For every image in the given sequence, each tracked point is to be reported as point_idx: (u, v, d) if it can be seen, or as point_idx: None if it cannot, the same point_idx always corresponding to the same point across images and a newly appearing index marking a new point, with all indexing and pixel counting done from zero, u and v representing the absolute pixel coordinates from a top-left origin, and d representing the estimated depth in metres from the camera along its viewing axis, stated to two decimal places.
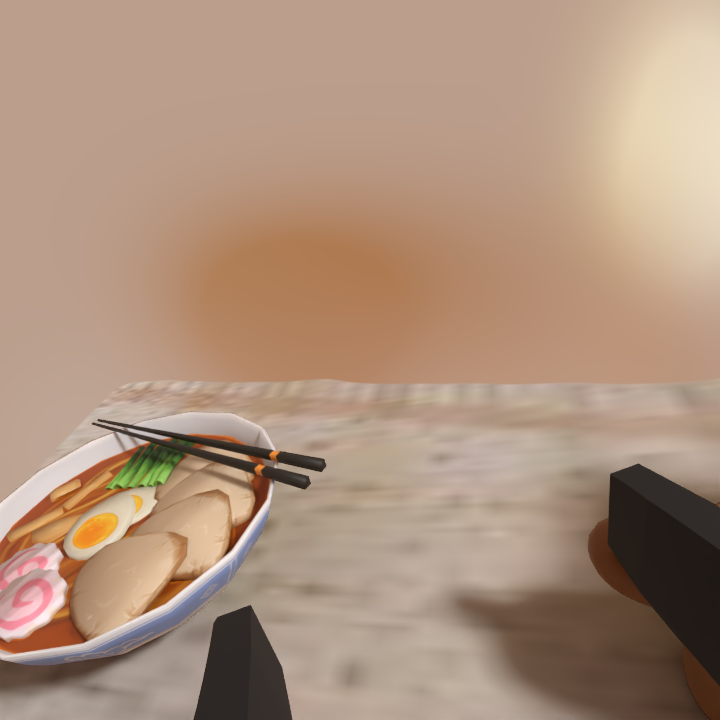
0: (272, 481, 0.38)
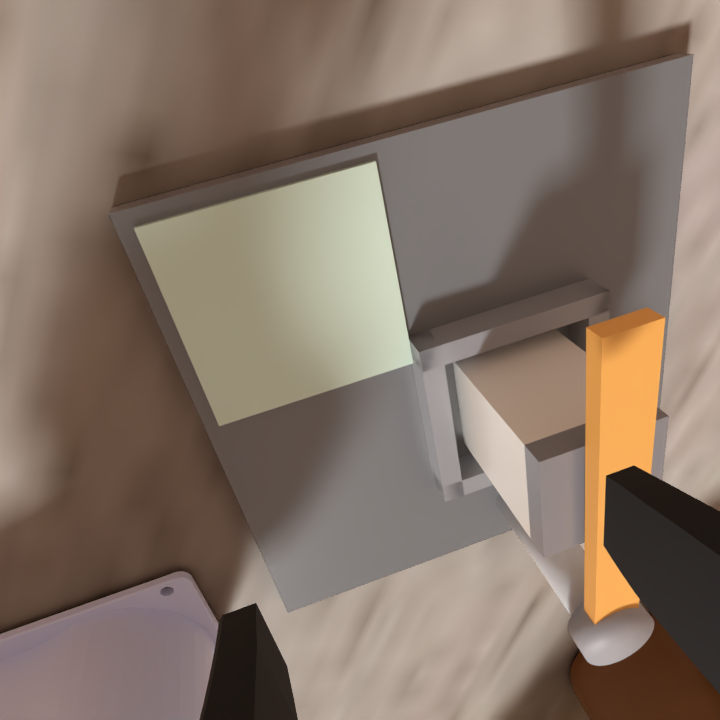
0: None
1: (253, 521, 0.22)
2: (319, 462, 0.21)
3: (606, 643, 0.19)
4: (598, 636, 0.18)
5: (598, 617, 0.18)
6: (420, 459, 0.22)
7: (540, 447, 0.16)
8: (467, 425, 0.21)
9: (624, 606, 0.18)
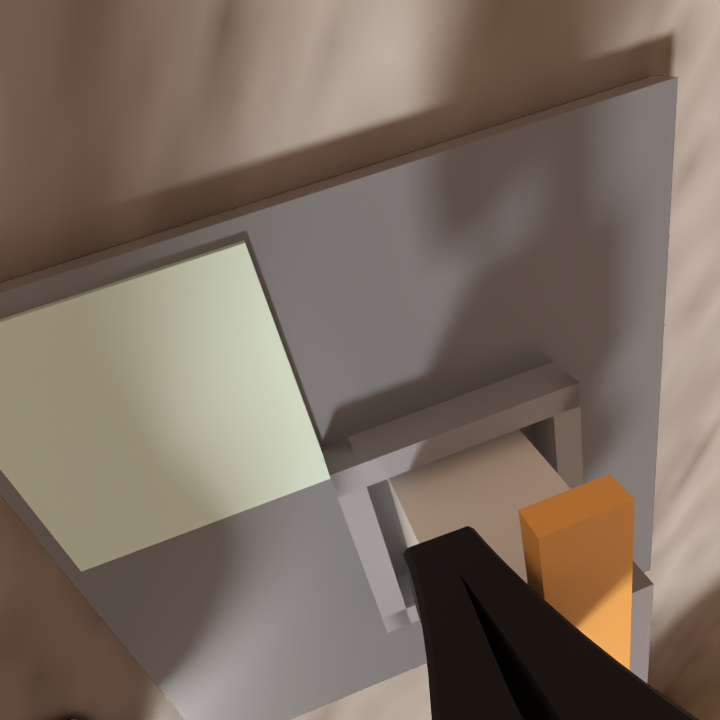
0: None
1: (149, 665, 0.17)
2: (225, 595, 0.17)
3: None
4: None
5: None
6: (356, 579, 0.18)
7: None
8: (408, 544, 0.17)
9: None
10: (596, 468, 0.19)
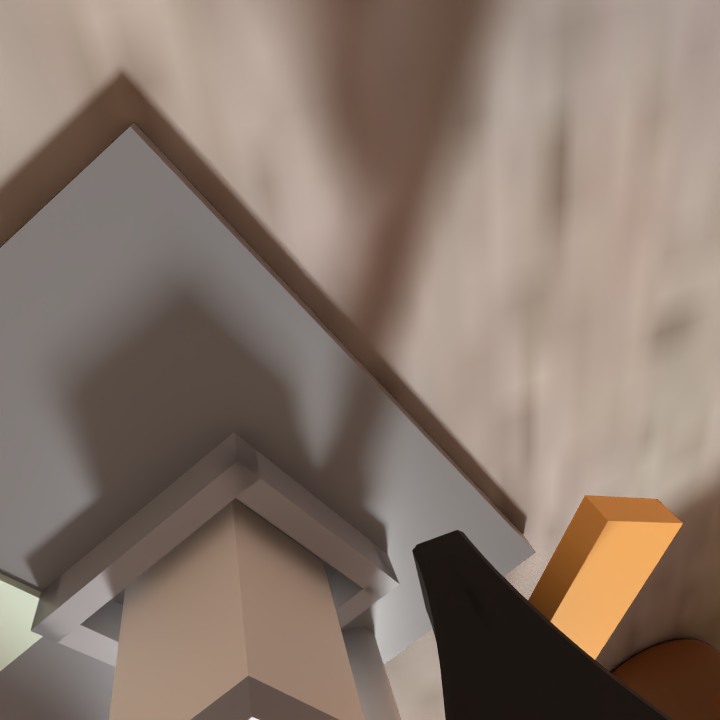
0: None
1: None
2: None
3: None
4: None
5: None
6: None
7: None
8: None
9: None
10: (378, 497, 0.17)
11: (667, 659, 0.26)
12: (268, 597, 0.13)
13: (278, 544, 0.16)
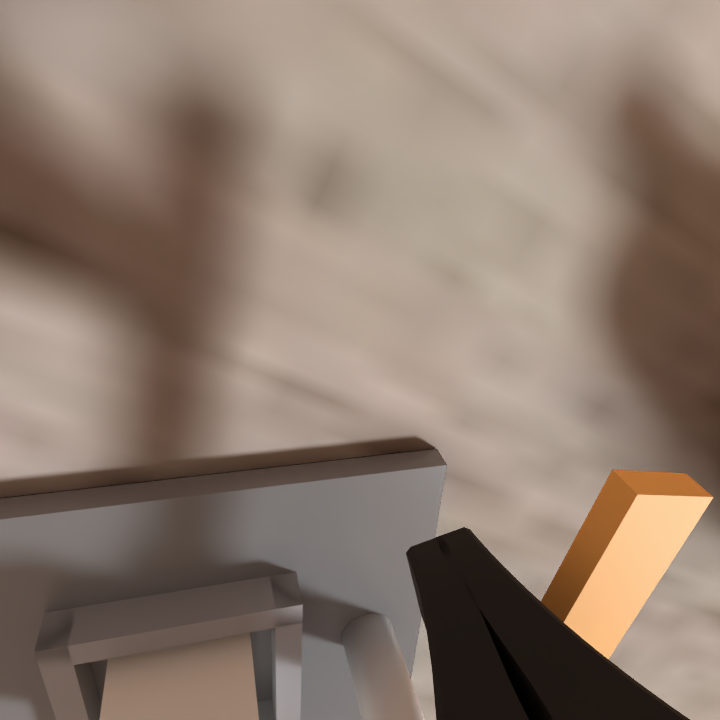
0: None
1: None
2: None
3: None
4: None
5: None
6: None
7: None
8: None
9: None
10: (222, 554, 0.16)
11: None
12: None
13: None
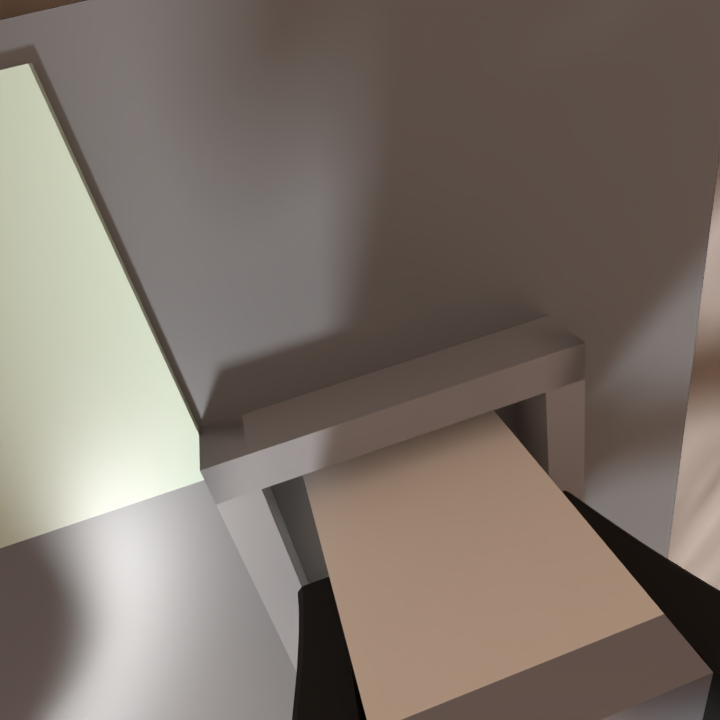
0: None
1: None
2: (71, 639, 0.12)
3: None
4: None
5: None
6: (267, 618, 0.13)
7: None
8: None
9: None
10: (599, 474, 0.14)
11: None
12: None
13: None
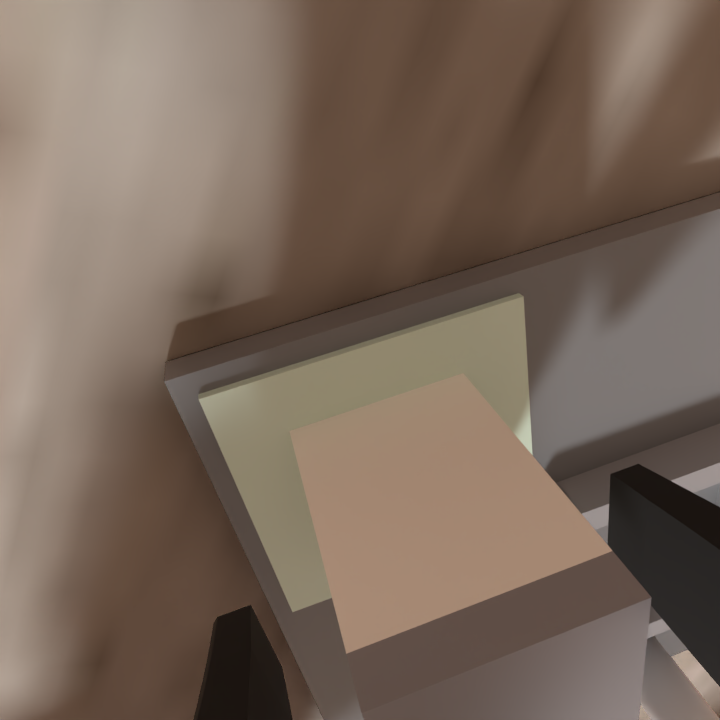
0: None
1: (324, 702, 0.17)
2: None
3: None
4: None
5: None
6: None
7: (375, 665, 0.07)
8: None
9: None
10: None
11: None
12: None
13: None
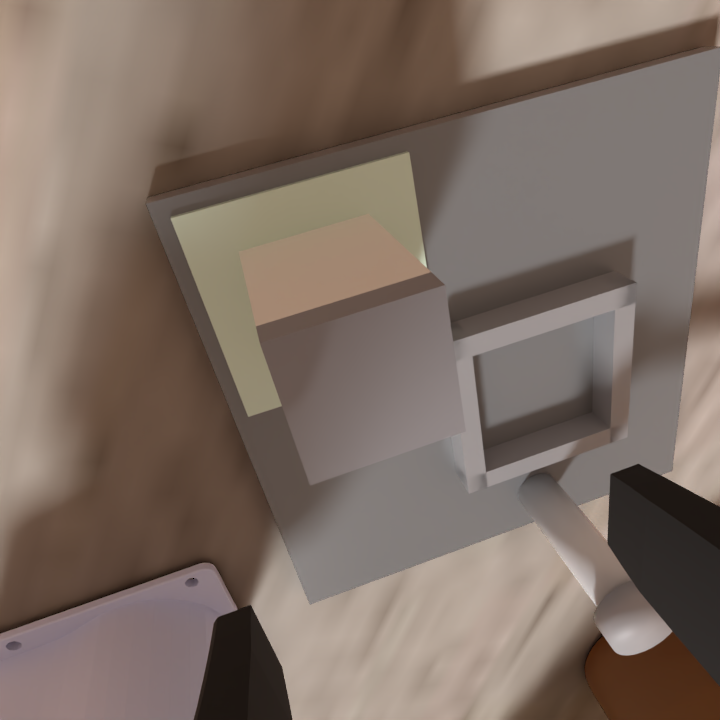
0: None
1: (278, 512, 0.22)
2: None
3: (653, 618, 0.19)
4: None
5: None
6: (444, 451, 0.22)
7: (272, 327, 0.12)
8: None
9: None
10: (637, 370, 0.23)
11: None
12: None
13: None
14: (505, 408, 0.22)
